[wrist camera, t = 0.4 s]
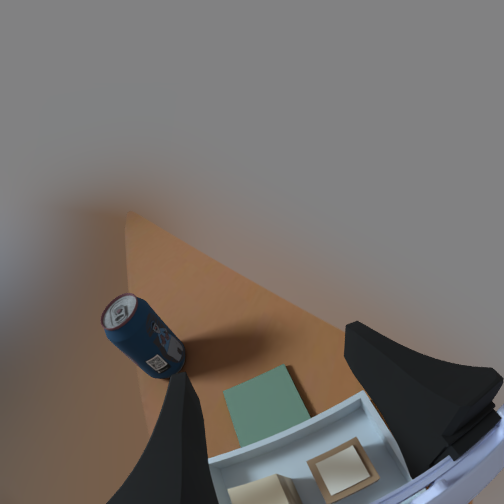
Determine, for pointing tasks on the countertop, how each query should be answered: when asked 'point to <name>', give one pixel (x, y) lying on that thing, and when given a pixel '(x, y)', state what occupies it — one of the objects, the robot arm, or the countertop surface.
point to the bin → (317, 454)
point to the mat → (265, 406)
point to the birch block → (266, 491)
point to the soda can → (143, 336)
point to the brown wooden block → (343, 471)
